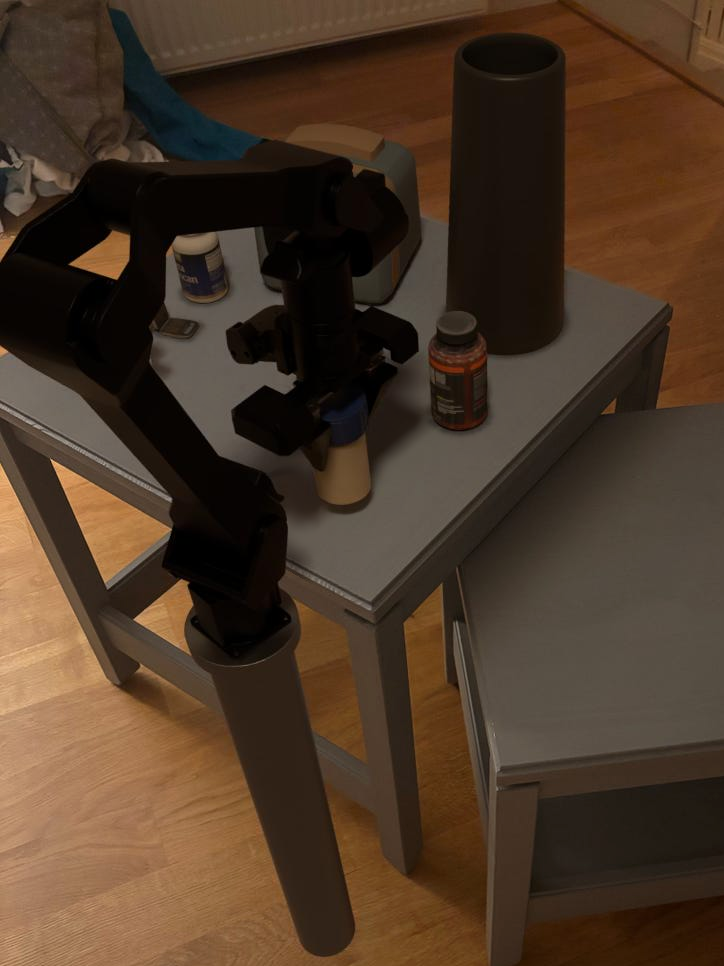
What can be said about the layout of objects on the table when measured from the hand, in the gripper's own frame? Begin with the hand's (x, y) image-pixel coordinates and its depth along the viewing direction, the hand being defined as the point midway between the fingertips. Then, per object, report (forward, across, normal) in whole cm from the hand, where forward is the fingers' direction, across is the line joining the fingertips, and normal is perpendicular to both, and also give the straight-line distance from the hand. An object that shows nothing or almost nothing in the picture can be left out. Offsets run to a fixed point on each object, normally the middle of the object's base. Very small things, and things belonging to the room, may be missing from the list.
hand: (338, 452), depth 97 cm
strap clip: (+6, -10, -36) cm, 38 cm away
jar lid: (-3, 0, 0) cm, 3 cm away
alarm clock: (+6, -32, -27) cm, 42 cm away
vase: (+6, -34, -4) cm, 35 cm away
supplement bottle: (+6, -17, +1) cm, 18 cm away
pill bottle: (+6, -19, -37) cm, 42 cm away
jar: (+4, 0, 0) cm, 4 cm away
